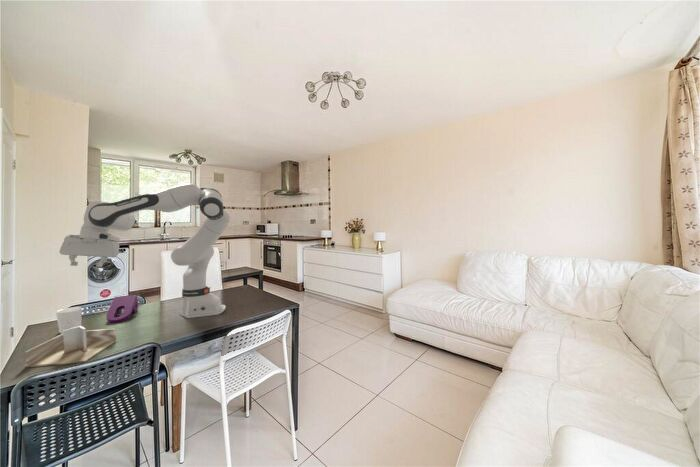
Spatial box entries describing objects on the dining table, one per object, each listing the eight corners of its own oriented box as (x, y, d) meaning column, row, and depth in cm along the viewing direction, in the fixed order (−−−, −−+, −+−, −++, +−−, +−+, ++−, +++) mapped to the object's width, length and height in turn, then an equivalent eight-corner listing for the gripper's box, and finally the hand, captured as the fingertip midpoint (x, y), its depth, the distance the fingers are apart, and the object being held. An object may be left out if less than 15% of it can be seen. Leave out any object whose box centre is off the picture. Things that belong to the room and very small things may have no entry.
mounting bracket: (130, 329, 132) (138, 305, 145) (128, 318, 128) (136, 294, 142) (106, 333, 127) (117, 308, 141) (103, 321, 123) (114, 296, 137)
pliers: (97, 306, 145) (130, 301, 153) (97, 308, 145) (130, 304, 154) (91, 311, 137) (127, 306, 145) (91, 314, 137) (127, 309, 145)
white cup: (53, 335, 112) (52, 314, 111) (63, 328, 119) (62, 308, 118) (77, 332, 115) (76, 311, 115) (85, 325, 122) (84, 305, 122)
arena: (116, 341, 108) (115, 328, 107) (85, 362, 92) (84, 347, 92) (66, 344, 104) (65, 331, 104) (25, 367, 88) (24, 352, 88)
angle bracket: (82, 347, 101) (81, 325, 100) (86, 350, 99) (85, 328, 98) (63, 352, 97) (62, 330, 96) (68, 356, 94) (66, 333, 94)
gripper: (59, 233, 108) (51, 264, 105) (114, 236, 112) (108, 266, 110) (71, 235, 114) (64, 265, 111) (123, 238, 118) (117, 267, 116)
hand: (86, 266), depth 111 cm, fingers open, 8 cm apart
